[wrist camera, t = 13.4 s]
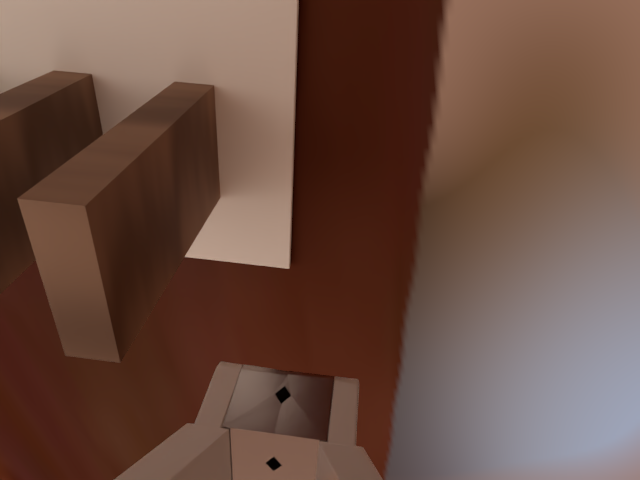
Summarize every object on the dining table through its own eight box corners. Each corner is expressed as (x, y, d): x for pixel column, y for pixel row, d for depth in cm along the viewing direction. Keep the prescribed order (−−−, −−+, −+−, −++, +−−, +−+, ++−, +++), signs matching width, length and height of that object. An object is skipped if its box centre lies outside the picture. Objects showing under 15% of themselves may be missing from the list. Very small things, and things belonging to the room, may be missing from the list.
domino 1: (53, 70, 20) (-188, 176, 12) (91, 73, 20) (-124, 183, 11) (78, 182, 23) (-102, 333, 14) (112, 186, 23) (-49, 340, 14)
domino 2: (174, 81, 20) (17, 198, 11) (214, 85, 20) (84, 205, 11) (185, 193, 22) (65, 355, 14) (220, 197, 22) (120, 362, 14)
